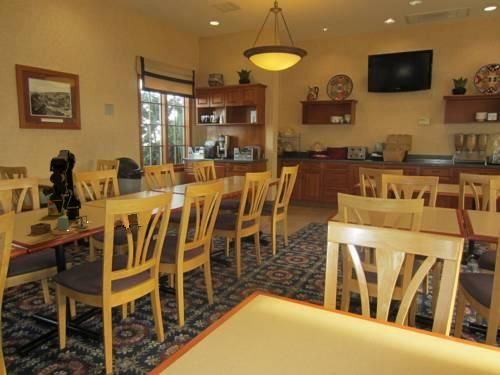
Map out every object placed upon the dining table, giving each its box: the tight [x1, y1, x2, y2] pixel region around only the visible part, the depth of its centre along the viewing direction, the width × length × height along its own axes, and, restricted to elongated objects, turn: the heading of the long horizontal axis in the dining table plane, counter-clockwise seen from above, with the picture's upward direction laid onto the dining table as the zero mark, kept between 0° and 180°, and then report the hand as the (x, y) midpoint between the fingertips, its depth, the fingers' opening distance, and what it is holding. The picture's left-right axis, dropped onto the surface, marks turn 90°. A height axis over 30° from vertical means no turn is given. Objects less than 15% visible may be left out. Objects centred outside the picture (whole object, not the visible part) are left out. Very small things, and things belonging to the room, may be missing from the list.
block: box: [57, 216, 70, 231], centre depth 200 cm, size 4×4×7 cm
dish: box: [51, 227, 76, 236], centre depth 200 cm, size 11×11×1 cm
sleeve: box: [30, 222, 52, 235], centre depth 200 cm, size 7×7×4 cm
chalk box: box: [47, 197, 67, 217], centre depth 241 cm, size 9×9×15 cm
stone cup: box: [114, 214, 139, 227], centre depth 215 cm, size 15×12×15 cm
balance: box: [71, 215, 92, 230], centre depth 209 cm, size 15×5×8 cm, turn 55°
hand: (62, 210), depth 198 cm, fingers open, 9 cm apart
